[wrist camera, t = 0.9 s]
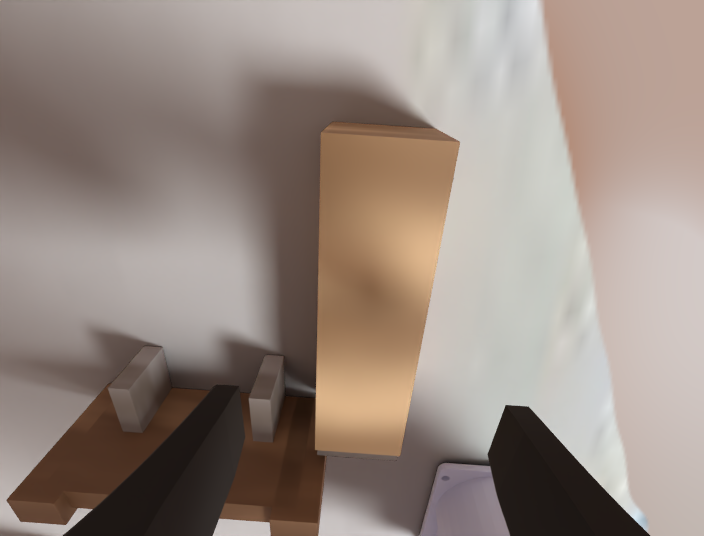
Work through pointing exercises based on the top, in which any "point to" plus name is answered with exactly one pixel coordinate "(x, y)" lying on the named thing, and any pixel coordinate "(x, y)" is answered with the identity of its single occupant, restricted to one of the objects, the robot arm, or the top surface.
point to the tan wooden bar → (375, 278)
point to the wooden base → (157, 424)
